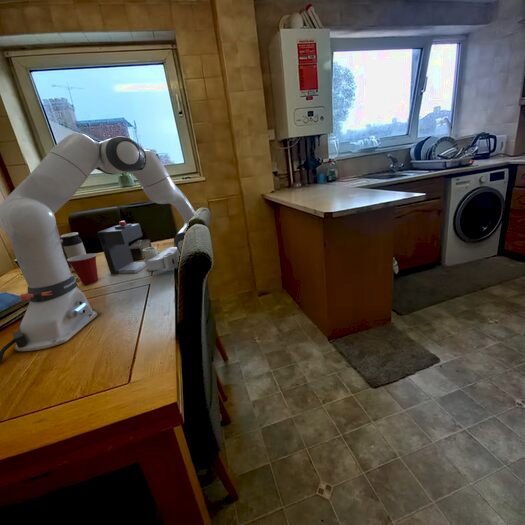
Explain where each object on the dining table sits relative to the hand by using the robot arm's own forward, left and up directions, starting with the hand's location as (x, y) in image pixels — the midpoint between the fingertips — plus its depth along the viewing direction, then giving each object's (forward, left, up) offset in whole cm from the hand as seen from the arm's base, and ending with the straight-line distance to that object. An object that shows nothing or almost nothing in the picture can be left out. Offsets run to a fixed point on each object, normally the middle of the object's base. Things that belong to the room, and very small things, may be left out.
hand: (150, 257), depth 127 cm
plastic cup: (-6, +25, -5) cm, 26 cm away
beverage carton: (+26, +13, -5) cm, 29 cm away
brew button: (+3, +9, +16) cm, 18 cm away
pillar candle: (+25, +47, -5) cm, 53 cm away
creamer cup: (0, -1, -5) cm, 5 cm away
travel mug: (+15, +39, -5) cm, 42 cm away
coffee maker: (+4, +11, -5) cm, 13 cm away
